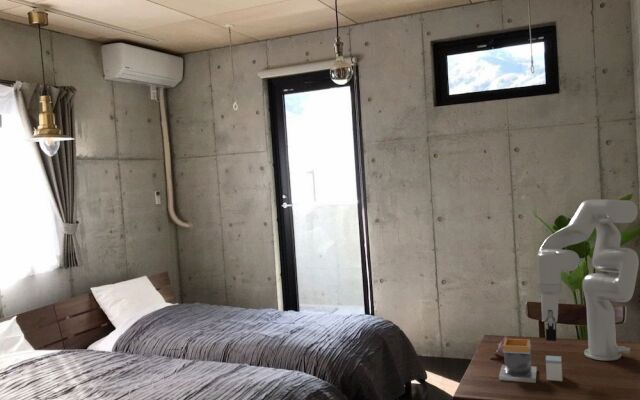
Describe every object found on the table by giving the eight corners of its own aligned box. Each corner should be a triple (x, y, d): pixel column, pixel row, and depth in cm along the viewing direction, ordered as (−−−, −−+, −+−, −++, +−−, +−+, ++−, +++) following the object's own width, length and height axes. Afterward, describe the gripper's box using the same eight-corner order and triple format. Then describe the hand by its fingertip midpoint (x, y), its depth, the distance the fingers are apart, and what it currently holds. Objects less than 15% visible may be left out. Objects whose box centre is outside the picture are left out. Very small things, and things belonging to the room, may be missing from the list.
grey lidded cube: (562, 375, 199) (561, 356, 199) (562, 381, 194) (561, 361, 194) (546, 374, 201) (545, 355, 201) (546, 380, 196) (545, 360, 196)
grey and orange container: (536, 370, 206) (535, 338, 205) (535, 382, 194) (533, 348, 194) (502, 368, 210) (500, 336, 210) (499, 380, 199) (497, 346, 199)
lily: (507, 353, 230) (494, 332, 231) (528, 348, 220) (514, 327, 221) (491, 369, 223) (477, 348, 224) (512, 365, 213) (497, 343, 214)
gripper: (538, 283, 205) (540, 329, 206) (537, 292, 190) (539, 342, 190) (561, 283, 203) (562, 330, 203) (561, 293, 187) (563, 344, 187)
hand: (551, 336), depth 197 cm, fingers open, 9 cm apart
